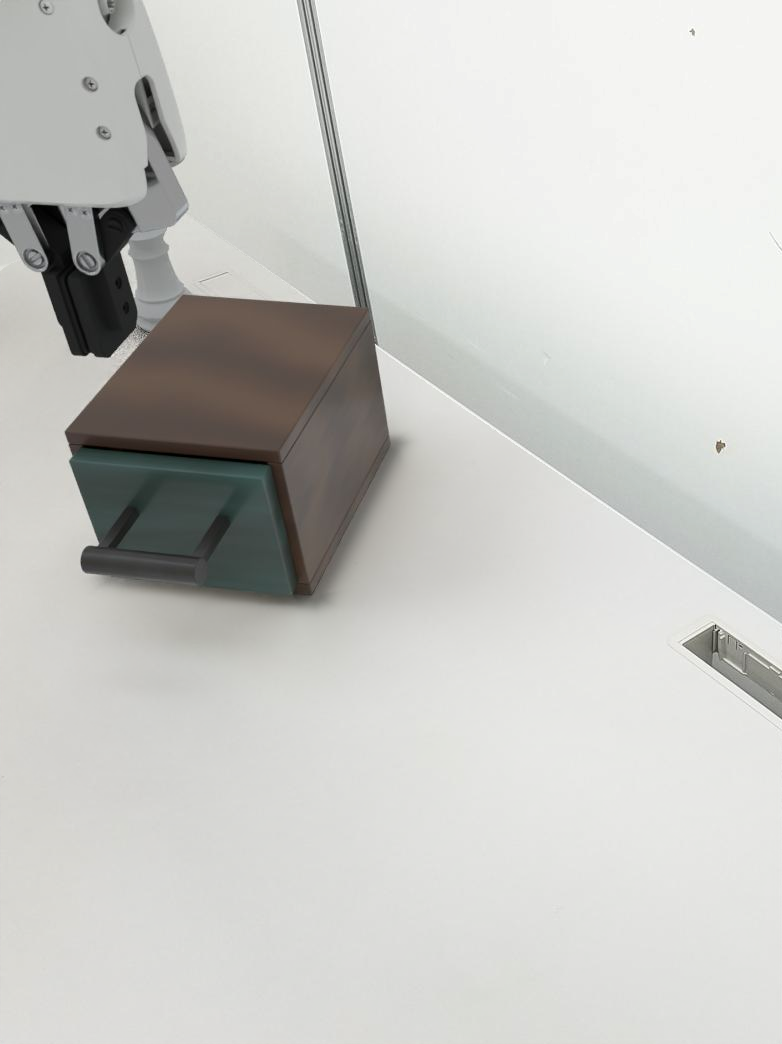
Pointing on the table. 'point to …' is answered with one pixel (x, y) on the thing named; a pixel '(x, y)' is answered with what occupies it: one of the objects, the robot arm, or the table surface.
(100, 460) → the drawer
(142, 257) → the rook chess piece
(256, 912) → the table surface
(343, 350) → the cabinet
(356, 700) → the table surface
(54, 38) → the robot arm
